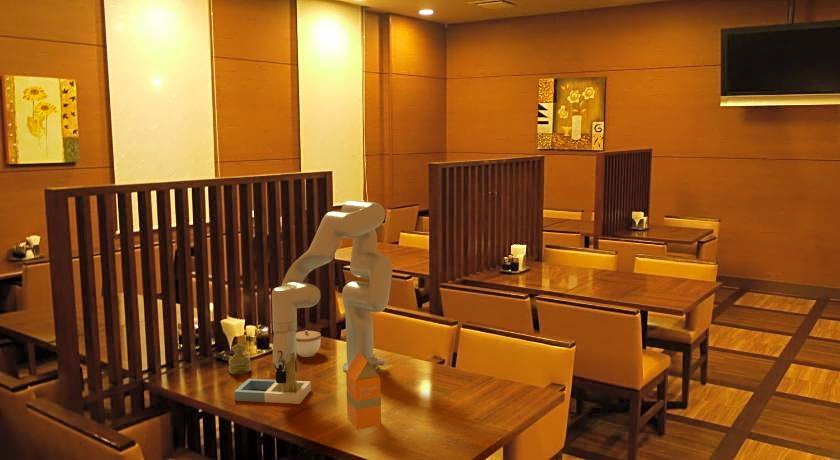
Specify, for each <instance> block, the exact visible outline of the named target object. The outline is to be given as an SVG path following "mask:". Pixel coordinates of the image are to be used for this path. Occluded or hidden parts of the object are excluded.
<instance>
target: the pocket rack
mask: <svg viewBox="0 0 840 460" xmlns="http://www.w3.org/2000/svg"><path fill="white" fill-rule="evenodd" d="M296 382H297V392H296V393H291V392H279V383H276V379H264V378H261V379H260V378H247V379H246V380H245V381H244V382H243V383H242V384H240V385H239V387H237V388H236V389H235V390H234V391H233V395H234V401H238V402H251V403H252V402H253V403H257V402H258V403H274V404H275V403H276V404H294V405H296V404H297V405H300V404H301V403H302V402H303V400H304V399H305V398H306V397H307V396H308V394H309V393H310V392H311V391H312V384H311V381H310V380H309V381H307V380H296Z"/></svg>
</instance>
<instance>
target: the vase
mask: <svg viewBox="0 0 840 460" xmlns="http://www.w3.org/2000/svg"><path fill="white" fill-rule="evenodd" d="M280 361H283V360H280ZM295 361H296V360H295V353H294V354H293V355H291V359H290V361H289V362H288V363H287V364H286V367H285V371H286V383H279V392H291V393H296V392H297V382H296V381H297V372H296V370H297V368H296V369H295ZM280 365H281V366H282V367H283V364H280Z"/></svg>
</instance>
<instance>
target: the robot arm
mask: <svg viewBox="0 0 840 460" xmlns="http://www.w3.org/2000/svg"><path fill="white" fill-rule="evenodd" d="M385 218H386V211H385V208H384V207H383V205H381V204H380V203H378V202H374V201H365V200H364V201H363V200H348V201H345V202H344V203H343V204H342V206H341V211H336V210H335V211H330V212H327V213H325V215H324V216H323V217H322V219H321V221H320V224H319V226H318V229H317V231H316V233H315V235H314V237H313V239H312V242H311V244H310V246H309V248H308V249H307V250H306V252H304V253H303V254H302V255H301V256H300V257H298V258H297V259H296V260H295V261H294V262H293V263H292V264H291V265H290V267H289V268H288V270H287V272H286V273H285V276H284V278H283V280H282V283H281V286H277V287H275V288H273V289H272V291H271V304H272V305H271V307H272V309H271V310H272V312H271V313H272V332H273V339H272V363H273V364H274V371H275V380H276V383H286V371H285V367H286V364H287V363H288V362H289V361H290V359H291V355H293V354H294V353H295V369H296V373H297V370H298V369H297V344H296V333H297V331H298V320H297V319H298V317H297V314H298V313H297V309H301V308H302V309H303V308H304V309H305V308H312V307H314V306H315V305H317V304H318V303H319V302H320V300H321V296H322V295H321V291H320V289H319V287H317V286H316V285H315V284H311V283H307V282H304V280H305V278H306V277H308V274H310V273H311V272H312V271H313V270H315V269H317V268H319V267H322V266H324V265H326V264H329V263H330V262H332V261H333V260H334V257H335V255H336V252H337V250H338V248H339V246H340V243H341V242H342V239H343V238H345V239H352V247H351V254H350V255H351V256H350V264H349V270H350V273H351V274H352V276H354V277H356V278H359V279H360V278H361V279H366V280H369V282H365V281H357V280H354V281H350V282H347V283H346V284H345V285H344V287H343V289H342V292H341V300H342V305H343V308H344V313H345V315H344V316H345V338H346V339H345V342H346V344H345V345H346V347H345V348H346V362H345V363H343V364H342V370H343V371H344V372H345V373H346V371H347V370H348V368H349V367H350V365H351V363H352V362H353V360H354V358H355V357H356V355H357V353H360V354H361V355H362V356H363V357H364V358H365V359H366V360H367V361H368V362H369V363H370V364H371V366H372V367H373V368H374V370H375V371H377V370H378V369H379V366H386V360H384V358H382V357H381V358H378V357H376V356H377V355H376V353H374V324H373V323H374V320H373V315H372V313H375V314H377V313H381V312H383V311H384V310H385V309H387V306H388V304H389V299H390V293H391V285H392V278H393V263H392V261H391V259H390V257H389V256H388V255H386V254H384V253H380V252H377V246H378V235H377V232H376V229H377V228H379V227H380V226H381V225H382V224H384V223H383V222H384V220H385ZM280 360H283V361H280ZM280 364H283V367H282V366H281V365H280Z"/></svg>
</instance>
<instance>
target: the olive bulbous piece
mask: <svg viewBox="0 0 840 460" xmlns="http://www.w3.org/2000/svg"><path fill="white" fill-rule="evenodd" d="M246 349H247V346H246V345H244V344H241V343H236V344H234V345H232V346H231V351H233V352H234V354H233V356H232V357H231V358H229V360H228V365H229V366H228V369H229V373H230V374H232V375H239V376H240V375H245V374H247V373H249V372H250V371H251V364H250V362H251V358H250V357H249V356H247V355H246V354H245V353H244V351H245V350H246Z"/></svg>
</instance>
